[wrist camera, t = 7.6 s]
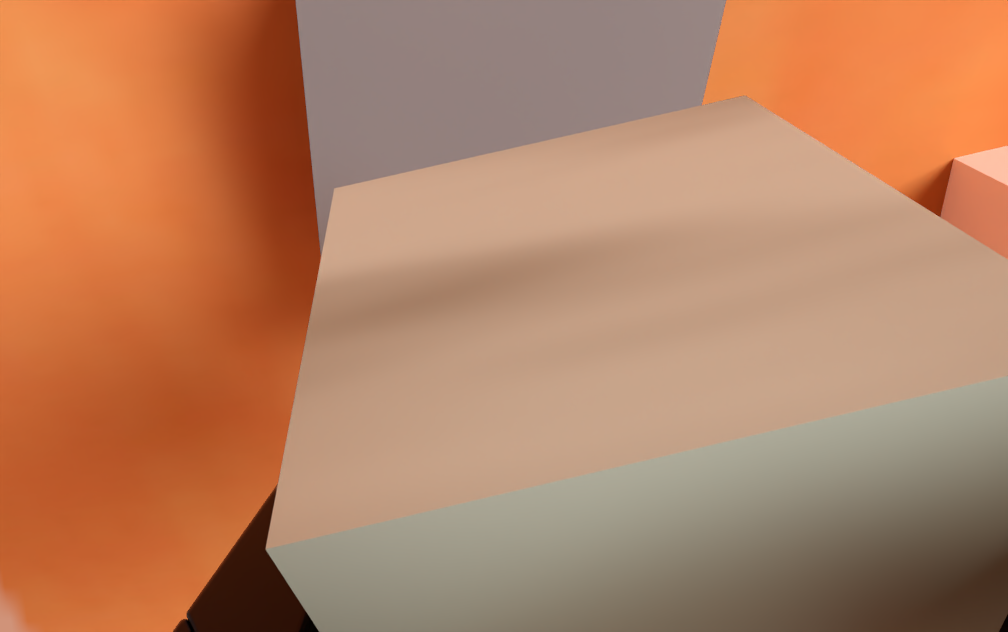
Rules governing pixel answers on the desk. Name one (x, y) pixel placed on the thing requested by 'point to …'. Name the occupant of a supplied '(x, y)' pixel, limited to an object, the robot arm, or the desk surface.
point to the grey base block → (486, 76)
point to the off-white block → (980, 198)
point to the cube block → (649, 395)
